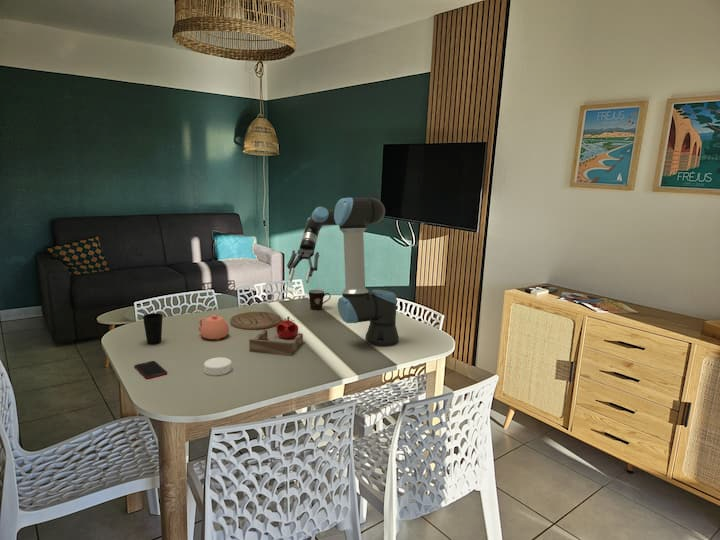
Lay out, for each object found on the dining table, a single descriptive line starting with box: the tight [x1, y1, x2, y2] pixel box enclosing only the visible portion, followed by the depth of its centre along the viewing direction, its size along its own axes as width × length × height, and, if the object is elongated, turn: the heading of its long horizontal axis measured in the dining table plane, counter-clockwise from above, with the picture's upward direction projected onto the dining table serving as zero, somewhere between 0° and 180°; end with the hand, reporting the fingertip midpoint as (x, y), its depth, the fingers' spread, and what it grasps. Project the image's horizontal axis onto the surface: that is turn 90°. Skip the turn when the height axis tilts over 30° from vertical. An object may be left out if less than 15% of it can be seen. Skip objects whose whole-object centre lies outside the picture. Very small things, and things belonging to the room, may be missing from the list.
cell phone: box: [133, 360, 168, 380], centre depth 177 cm, size 8×15×1 cm, turn 42°
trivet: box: [229, 311, 282, 331], centre depth 238 cm, size 25×25×2 cm
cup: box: [142, 312, 163, 346], centre depth 204 cm, size 8×8×12 cm
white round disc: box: [203, 356, 233, 376], centre depth 179 cm, size 10×10×4 cm
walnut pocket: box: [248, 329, 304, 357], centre depth 205 cm, size 16×18×5 cm
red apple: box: [275, 316, 299, 339], centre depth 218 cm, size 10×10×9 cm
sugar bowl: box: [197, 314, 230, 341], centre depth 214 cm, size 12×14×10 cm
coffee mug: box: [308, 288, 332, 311], centre depth 263 cm, size 12×9×10 cm
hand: (298, 280), depth 230 cm, fingers open, 8 cm apart
